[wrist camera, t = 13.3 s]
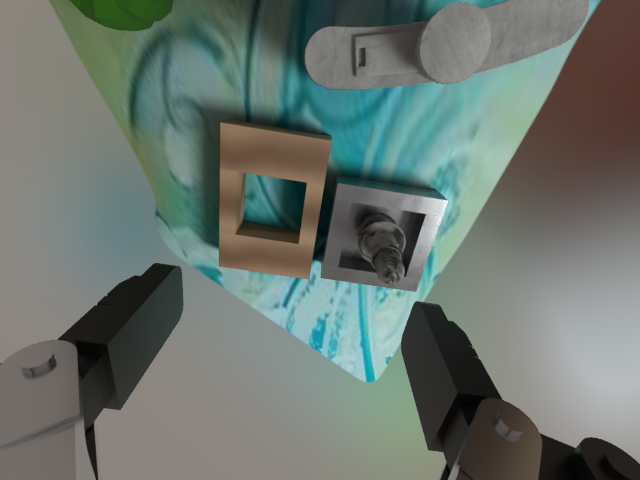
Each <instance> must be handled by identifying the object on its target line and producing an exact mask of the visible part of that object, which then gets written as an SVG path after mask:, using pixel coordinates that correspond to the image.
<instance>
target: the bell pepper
mask: <svg viewBox="0 0 640 480" xmlns="http://www.w3.org/2000/svg"><path fill="white" fill-rule="evenodd" d="M70 1H71V2H72V3H73V4H74V5H75V6H76V7H77V8H78V9H79V10H80V11H81V12H82V13H83V14H84V15H85V16H86V17H88V18H90V19H92V20H93V21H95V22H97V23H99V24H101V25H103V26H105V27H109V28H113V29H117V30H129V31H138V30H144V29H147V28H150V27H151V26H152V24H153V22H154V21H160V20H162V19H163V18H164V17H165V16H166V15H168V14H169V13H170V12H171V9H172V3H173V0H70Z"/></svg>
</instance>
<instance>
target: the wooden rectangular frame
mask: <svg viewBox="0 0 640 480" xmlns="http://www.w3.org/2000/svg"><path fill="white" fill-rule="evenodd" d="M330 147H331V136H329V135H323V134H317V133H311V132H305V131H299V130H293V129H287V128H280V127H274V126H268V125H262V124H256V123H250V122H244V121H238V120H232V119H231V120H227V121H224V122H220V213H219V266H221V267H228V268H234V269H241V270H248V271H255V272H262V273H269V274H276V275H283V276H289V277H296V278H303V279H309V276H310V270H311V264H312V258H313V251H314V245H315V239H316V233H317V227H318V221H319V214H320V208H321V202H322V196H323V190H324V184H325V177H326V171H327V165H328V159H329V153H330ZM246 173H249V174H256V175H262V176H268V177H275V178H281V179H287V180H294V181H300V182H306V183H307V187H306V194H305V201H304V208H303V216H302V223H301V230H300V231H297V230H291V229H284V228H278V227H271V226H264V225H258V224H251V223H245V222H243V221H244V199H245V178H246Z"/></svg>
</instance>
